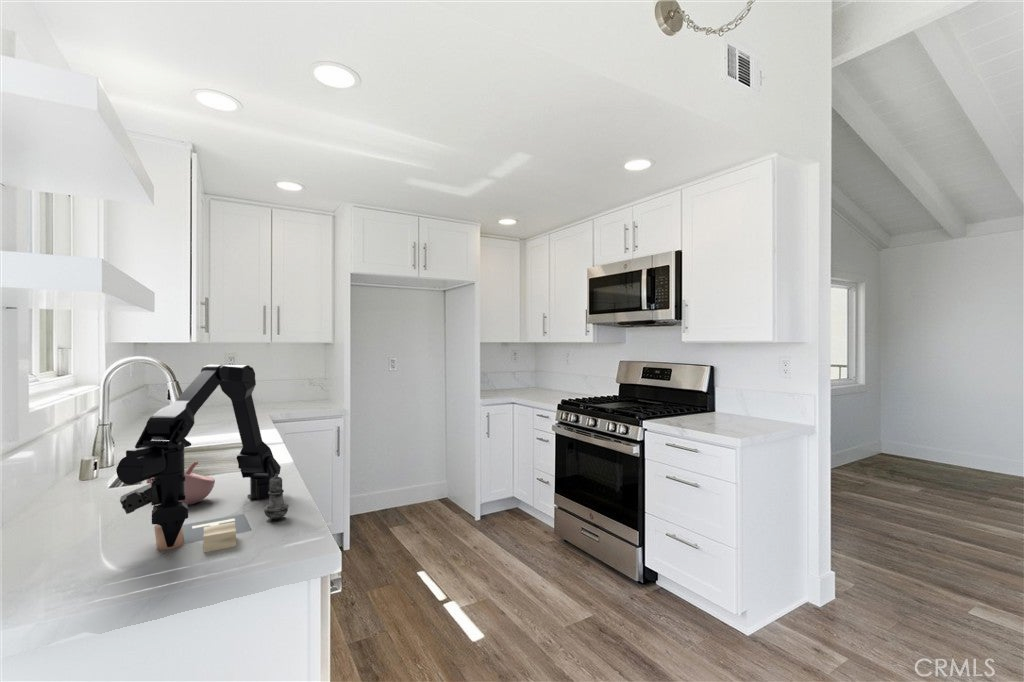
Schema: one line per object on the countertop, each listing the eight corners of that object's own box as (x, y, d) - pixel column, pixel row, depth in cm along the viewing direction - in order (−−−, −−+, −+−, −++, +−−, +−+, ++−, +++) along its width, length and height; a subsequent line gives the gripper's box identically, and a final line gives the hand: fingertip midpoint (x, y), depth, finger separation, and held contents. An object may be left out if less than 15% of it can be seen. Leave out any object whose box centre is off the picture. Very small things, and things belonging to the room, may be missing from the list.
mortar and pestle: (222, 502, 141) (221, 461, 141) (172, 514, 132) (171, 470, 132) (205, 494, 149) (205, 455, 149) (157, 504, 140) (157, 463, 140)
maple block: (204, 545, 113) (203, 527, 113) (234, 539, 116) (234, 522, 116) (203, 555, 108) (203, 536, 108) (236, 549, 111) (235, 530, 111)
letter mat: (179, 527, 123) (179, 525, 123) (244, 515, 131) (244, 513, 131) (181, 546, 112) (181, 544, 112) (252, 532, 120) (252, 530, 120)
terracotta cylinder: (157, 545, 112) (154, 523, 112) (184, 538, 115) (181, 516, 115) (156, 553, 108) (153, 530, 108) (184, 546, 111) (181, 523, 111)
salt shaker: (279, 526, 123) (278, 477, 123) (257, 524, 124) (257, 475, 124) (294, 517, 129) (293, 470, 129) (273, 516, 130) (273, 469, 130)
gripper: (125, 467, 114) (126, 537, 115) (119, 488, 99) (120, 568, 99) (184, 460, 121) (185, 526, 121) (187, 478, 105) (188, 554, 106)
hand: (170, 542), depth 111 cm, fingers closed on terracotta cylinder, 5 cm apart
